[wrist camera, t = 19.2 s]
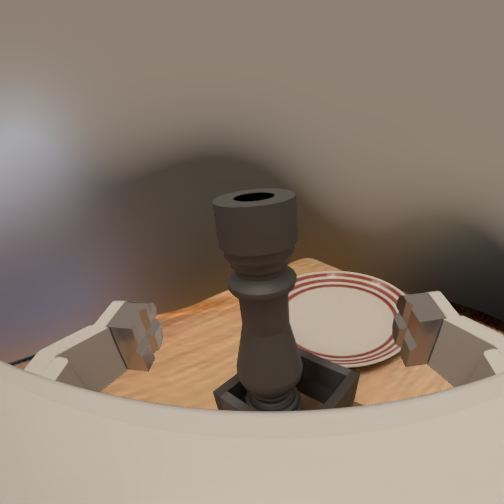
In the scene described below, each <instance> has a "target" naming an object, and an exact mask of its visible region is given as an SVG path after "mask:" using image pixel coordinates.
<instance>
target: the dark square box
mask: <svg viewBox="0 0 504 504" xmlns="http://www.w3.org/2000/svg"><path fill="white" fill-rule="evenodd" d="M298 350H299V353H300V356H301V359H302V363H303V371H302V375H301V379H300V381H299V382H298V384H297V385H296V387H297V388H298V391H299V394H300V399H301V402H302V411H305V410H322V409H335V408H345V407H355V406H363V405H361V404H359V403H356V402H354V398H355V394H356V389H357V385H358V380H359V376H360V373H358V372H356V371H353V370H351V369H348V368H346V367H343V366H341V365H338V364H336V363H333V362H331V361H329V360H326V359H324V358H321V357H319V356H317V355H314V354H312V353H310V352H307V351H305V350H303V349H300V348H298ZM246 393H247V390H246V389H245V387H244V386H243V385H242V383H241V382H240V380H239V379H238V374H236V375H235V376H233V377H232V378H231V379H229V380H228V381H227V382H225V383H224V384H223V385H222V386H220V387H219V388H217V389H216V390H215V391H213V394H214V397H215V400H216V404H217V407H218V410H231V411H256V410H255V409H253V408H252V407H250V406H249V405H247V404H245V396H246Z"/></svg>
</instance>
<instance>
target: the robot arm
mask: <svg viewBox="0 0 504 504" xmlns="http://www.w3.org/2000/svg"><path fill="white" fill-rule="evenodd" d="M396 307H397V309H398V311H399V312H398V314H397V315H396V316H395V317H394V319H393V324H392V335H393V339H394V342H395V344H396V345H397V346H399V347H401V350H400V355H401V358H402V360H403V362H404V365H405V367H409V366H416V365H423V364H428V366H430V367H431V368H432V369H433V370H434V371H436V372H437V373H438V374H439V375H441V376H442V377H443V378H444V379H445V380H447V381H448V382H449V383H450V384H451V385H453V386H454V388H450V389H447V390H443V391H439V392H435V393H431V394H426V395H422V396H417V397H412V398H407V399H402V400H396V401H390V402H384V403H378V404H371V405H363V406H355V407H345V408H335V409H322V410H305V411H231V410H214V409H201V408H191V407H181V406H173V405H166V404H158V403H152V402H146V401H140V400H134V399H129V398H123V397H118V396H114V395H109V394H104V393H100V392H101V391H102V390H103V389H104V388H106V387H107V386H108V385H109V384H111V383H112V382H113V381H114V380H116V379H117V378H118V377H119V376H121V375H122V374H123V373H124V372H126V371H127V369H129V370H139V371H149V370H150V368H151V366H152V363H153V361H154V359H155V357H154V354H153V353H155V352H156V351H158V350H159V349H160V347H161V344H162V339H163V332H162V327H161V324H160V323H159V322H158V321H157V320H156V319H155V317H156V315H157V310H156V307H155V305H154V304H153V303H151V302H132V301H113V302H112V303H111V304H110V306H109V307H108V308H107V309H106V311H105V312H104V313H103V314H102V315H101V317H100V318H99V319H98V320H97V321H96V323H95V324H94V325H93V326H91V325H90V326H88V327H85V328H84V329H81V330H80V331H78V332H75V333H74V334H72V335H70V336H68V337H66V338H64V339H62V340H60V341H58V342H56V343H54V344H52V345H50V346H48V347H46V348H44V349H42V350H40V351H39V352H38V353H37V354H36V355H35V356H34V358H33V359H32V360H31V361H30V363H29V364H28V365H27V366H26V367H25V369H24V370H23V369H20V368H18V367H15V366H12V365H10V364H7V363H5V362H2V361H0V504H504V336H503V335H501V334H499V333H497V332H495V331H493V330H491V329H489V328H487V327H485V326H483V325H481V324H479V323H477V322H475V321H473V320H471V319H469V318H467V317H465V316H459V315H458V313H457V312H456V311H455V309H454V308H453V307H452V306H451V304H450V303H449V302H448V301H447V299H446V298H445V297H444V296H443V294H442V293H441V292H439V291H433V292H426V293H419V294H411V295H402V296H399V298H398V300H397V305H396Z"/></svg>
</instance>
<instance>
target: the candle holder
mask: <svg viewBox="0 0 504 504" xmlns="http://www.w3.org/2000/svg"><path fill="white" fill-rule="evenodd" d="M213 211H214V218H215V225H216V231H217V239H218V246H219V248H220V249H221V250H222V251H224V258H225V259H226V260H227V261H228V262H229V263H230V265H231V268H232V269H233V270H234V271H233V272H232V273H231V275H230V276H229V277H228V279H227V280H228V289H229V291H230V292H231V293H232V294H233V295H234V296H235V297H237V298H238V299H239V303H240V310H241V317H242V331H241V338H240V346H239V353H238V360H237V374H238V379H239V380H240V382H241V383H242V385H243V386H244V387H245V389H246V390H247V393H246V396H245V404H247V405H249V406H250V407H252V408H253V409H255V410H256V411H302V402H301V399H300V394H299V391H298V388H297V387H296V385H297V384H298V382H299V381H300V379H301V375H302V371H303V363H302V359H301V356H300V353H299V350H298V347H297V344H296V341H295V338H294V335H293V332H292V329H291V325H290V322H289V299H288V295H289V292H290V291H292V290H293V289H294V286H295V283H296V280H297V275H296V273H295V272H294V270H293V269H292V268H290V267H289V266H287V265H288V263H289V261H290V257H291V256H292V254H293V252H294V249H295V244H296V242H297V240H298V221H297V202H296V194H295V193H294V192H293V191H290V190H285V189H272V188H268V189H252V190H244V191H238V192H233V193H229V194H225V195H222V196H219V197H217V198H216V199H214V200H213Z"/></svg>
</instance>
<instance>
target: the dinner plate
mask: <svg viewBox="0 0 504 504" xmlns="http://www.w3.org/2000/svg"><path fill="white" fill-rule="evenodd" d="M402 295H405V294H404V293H403V292H402V291H400V290H399V289H398V288H396V287H395V286H393V285H391V284H389V283H387V282H385V281H383V280H381V279H378V278H375V277H372V276H368V275H365V274H360V273H353V272H345V271H322V272H313V273H307V274H303V275H299V276H297V280H296V283H295V286H294V289H293V290H292V291H290V292H289V295H288V299H289V322H290V325H291V329H292V332H293V335H294V338H295V341H296V344H297V347H298V348H300V349H303V350H305V351H307V352H310V353H312V354H314V355H317V356H319V357H321V358H324V359H326V360H329V361H331V362H333V363H336V364H338V365H341V366H343V367H346V368H350V367H362V366H367V365H371V364H375V363H378V362H381V361H383V360H386V359H388V358H390V357H392V356H394V355H396V354H397V353H398V352H400V350H401V347H399V346H397V345H396V344H395V342H394V339H393V335H392V324H393V319H394V317H395V316H396V315H397V314H398V312H399V311H398V309H397V307H396V305H397V300H398V298H399V296H402Z"/></svg>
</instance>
